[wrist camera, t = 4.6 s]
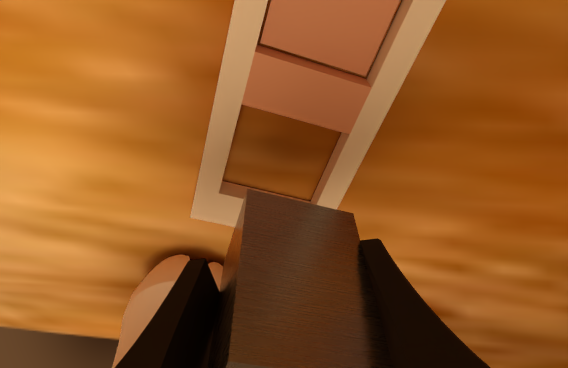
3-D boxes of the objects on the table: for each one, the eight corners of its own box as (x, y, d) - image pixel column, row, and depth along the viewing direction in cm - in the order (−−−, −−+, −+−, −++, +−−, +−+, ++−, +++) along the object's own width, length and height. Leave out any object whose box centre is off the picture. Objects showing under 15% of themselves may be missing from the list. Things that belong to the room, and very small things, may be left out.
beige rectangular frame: (696, -525, 8) (750, -583, 7) (316, 231, 23) (318, 244, 22) (397, -774, 7) (417, -887, 6) (193, 204, 22) (189, 217, 21)
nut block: (352, 213, 13) (397, 385, 8) (315, 280, 15) (332, 445, 10) (247, 188, 12) (228, 361, 7) (223, 262, 14) (197, 432, 10)
